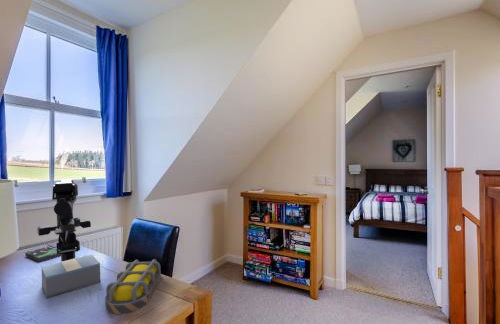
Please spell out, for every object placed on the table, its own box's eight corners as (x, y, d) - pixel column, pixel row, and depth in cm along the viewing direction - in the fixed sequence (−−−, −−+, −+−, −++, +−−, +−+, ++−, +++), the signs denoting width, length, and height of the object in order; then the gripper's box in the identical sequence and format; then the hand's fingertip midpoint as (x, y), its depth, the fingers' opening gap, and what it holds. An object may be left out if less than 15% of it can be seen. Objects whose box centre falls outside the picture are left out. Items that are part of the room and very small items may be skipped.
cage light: (164, 255, 119) (142, 290, 89) (164, 273, 119) (142, 313, 89) (130, 256, 118) (96, 292, 88) (130, 274, 118) (97, 315, 88)
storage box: (42, 286, 107) (41, 269, 107) (92, 272, 120) (91, 257, 120) (46, 298, 98) (46, 280, 98) (100, 281, 111) (100, 265, 111)
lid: (41, 269, 107) (41, 266, 107) (91, 256, 120) (91, 254, 120) (46, 279, 98) (45, 277, 98) (100, 265, 111) (99, 262, 111)
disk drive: (24, 257, 138) (38, 263, 131) (24, 252, 138) (38, 257, 131) (47, 251, 147) (61, 256, 140) (47, 246, 147) (61, 250, 140)
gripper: (39, 217, 104) (41, 257, 104) (93, 210, 117) (94, 245, 117) (36, 213, 112) (37, 249, 112) (87, 206, 125) (88, 239, 125)
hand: (65, 246), depth 117 cm, fingers closed
